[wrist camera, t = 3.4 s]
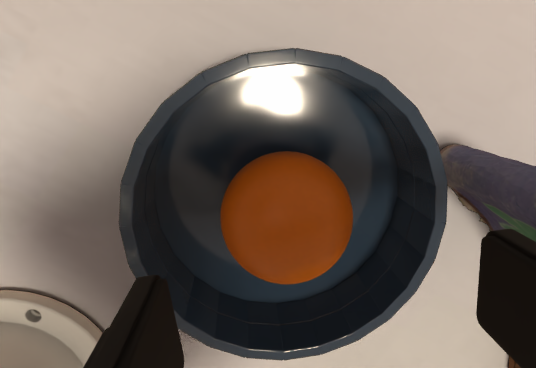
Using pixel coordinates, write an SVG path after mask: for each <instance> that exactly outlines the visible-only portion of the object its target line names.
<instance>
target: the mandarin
mask: <svg viewBox="0 0 536 368" xmlns="http://www.w3.org/2000/svg"><path fill="white" fill-rule="evenodd" d="M220 221H221V230H222V234H223V238H224V240H225V243H226V245H227V248H228V249H229V251H230V253H231V255H232V256H233V257H234V259H235V260H236V261H237V262H238V263H239V264H240V265H241V266H242V267H243V268H244V269H245V270H246V271H248V272H249V273H251V274H252V275H254V276H256V277H258V278H260V279H262V280H265V281H268V282H271V283H276V284H297V283H302V282H306V281H309V280H312V279H314V278H316V277H318V276H320V275H322V274H323V273H325V272H326V271H327V270H329V269H330V268H331V267H332V266H333V265H334V264H335V263H336V262H337V261H338V260H339V258H340V257H341V256H342V254H343V252H344V251H345V249H346V247H347V244H348V242H349V240H350V236H351V233H352V226H353V210H352V204H351V200H350V197H349V194H348V192H347V189H346V187H345V186H344V184H343V182H342V181H341V179H340V178H339V177H338V175H337V174H336V173H335V172H334V171H333V170H332V169H331V168H330V167H329V166H327V165H326V164H325V163H323V162H322V161H320V160H318V159H316V158H314V157H312V156H310V155H307V154H304V153H299V152H291V151H283V152H274V153H269V154H266V155H263V156H261V157H259V158H257V159H254V160H253V161H251V162H250V163H248V164H247V165H245V166H244V167H243V168H242V169H241V170H240V171H239V172H238V173H237V174H236V175H235V176H234V178H233V179H232V181H231V182H230V184H229V186H228V188H227V190H226V192H225V195H224V198H223V200H222V205H221V214H220Z"/></svg>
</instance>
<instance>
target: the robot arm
mask: <svg viewBox="0 0 536 368" xmlns="http://www.w3.org/2000/svg"><path fill="white" fill-rule="evenodd" d="M476 313H477V319H478V322H479V324H480V326H481V327H482V328H483V329H484V330H485V331H486V332H487V333H488V334H489V335H490V336H491V337H492V338H493V339H494V340H495V342H496V343H497V344H498V345H499V346H500V347H501V348H502V349H503V350H504V351H505V352H506V353H507V354H508V355H509V356H510V357H511V358H512V359H513V360H514V361H515V362H516V363H517V364H518V365H519V366H520V367H521V368H536V242H535V241H533V240H532V239H530V238H528V237H526V236H524V235H523V234H521V233H519V232H517V231H515V230H513V229H503V230H495V231H490V232H488V233H487V235H486V237H484V238H483V239H482V242H481V256H480V270H479V284H478V298H477V312H476ZM0 368H184V355H183V350H182V346H181V341H180V336H179V332H178V327H177V323H176V318H175V314H174V309H173V305H172V300H171V296H170V291H169V286H168V282H167V280H166V279H161V278H160V276H159V275H150V276H143V277H138V278H137V279H136V280H135V282H134V284H133V286H132V288H131V289H130V291H129V293H128V295H127V297H126V298H125V300H124V302H123V304H122V306H121V308H120V309H119V311H118V313H117V315H116V317H115V318H114V320H113V322H112V324H111V326H110V327H109V328H108V329H106V330H105V331H104V332H103V333H102V332H101V331H100V329H99V328H98V327H97V326H95V325H94V324H93V323H92V322H91V321H90V320H89V319H88V318H87V317H86V316H84V315H83V314H81V313H79V312H78V311H76V310H75V309H73V308H72V307H70V306H68V305H66V304H64V303H61V302H59V301H57V300H54V299H52V298H50V297H46V296H42V295H38V294H34V293H31V292H23V291H13V290H0Z"/></svg>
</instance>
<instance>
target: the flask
mask: <svg viewBox="0 0 536 368" xmlns="http://www.w3.org/2000/svg"><path fill="white" fill-rule="evenodd" d="M449 146H450V147H449ZM449 146H446V147H448V148H446V147H444V148H442V150H440V153H441V157H442V161H443V165H444V170H445V174H446V178H447V184H448V186H449V187H451V188H452V190H454V192H455V193H456V195H458V197H459V198H458V199H459V200H460V201H461V202H462V203H463V206H465V207H467V209H468V210H471V211H472V210H473V212H476V213H478V214H479V215H480V217H481V218H480V221H482V222H484V223H485V224H487V225H488V226H489V228H490V231H495V230H503V229H513V230H515V231H517V232H519V233H521V234H523V235H524V236H526V237H528V238H530V239H532V240H533V241H535V242H536V166H532V165H528V164H525V163H522V162H519V161H517V160H512V159H508V158H503V157H500V156H497V155H494V154H492V153H488V152H485V151H481V150H477V149H473V148H470V147H468V146H464V145H453V144H452V145H449ZM443 149H444V150H443Z"/></svg>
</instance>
